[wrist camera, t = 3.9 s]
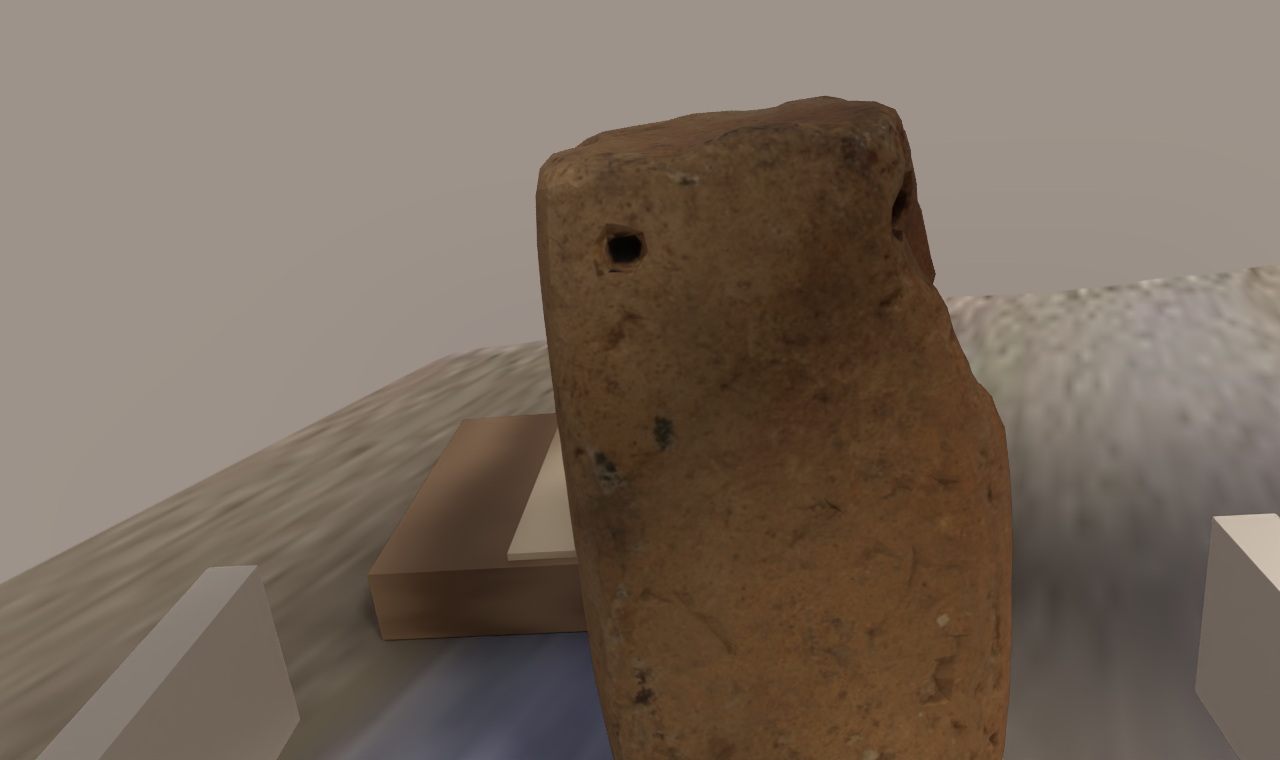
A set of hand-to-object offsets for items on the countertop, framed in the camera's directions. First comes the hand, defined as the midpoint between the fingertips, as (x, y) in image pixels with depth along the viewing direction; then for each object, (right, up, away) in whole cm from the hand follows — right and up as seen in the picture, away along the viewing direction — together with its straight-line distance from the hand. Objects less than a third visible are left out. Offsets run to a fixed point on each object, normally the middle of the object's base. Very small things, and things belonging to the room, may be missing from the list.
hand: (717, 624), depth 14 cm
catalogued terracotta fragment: (+4, -9, +16) cm, 19 cm away
